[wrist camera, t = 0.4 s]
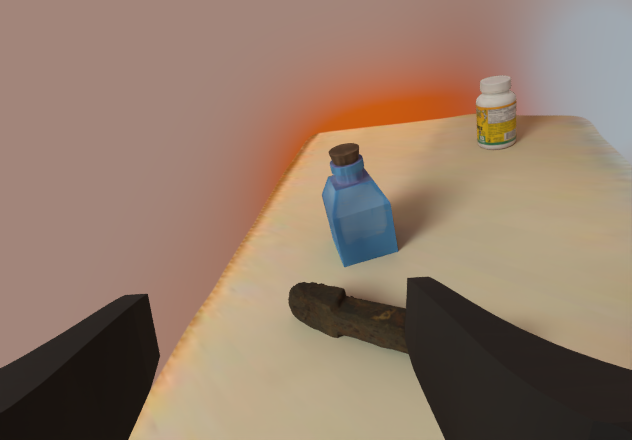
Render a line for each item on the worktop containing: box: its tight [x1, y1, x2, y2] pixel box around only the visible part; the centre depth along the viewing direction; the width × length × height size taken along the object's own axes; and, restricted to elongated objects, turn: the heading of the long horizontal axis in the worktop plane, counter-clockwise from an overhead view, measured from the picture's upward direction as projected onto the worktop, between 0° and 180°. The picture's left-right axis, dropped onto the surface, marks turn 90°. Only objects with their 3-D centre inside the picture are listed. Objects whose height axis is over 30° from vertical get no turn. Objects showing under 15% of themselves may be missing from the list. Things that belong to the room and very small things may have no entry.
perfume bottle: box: [322, 143, 398, 267], centre depth 45 cm, size 6×6×12 cm
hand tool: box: [288, 282, 409, 354], centre depth 35 cm, size 19×4×5 cm, turn 57°
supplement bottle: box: [476, 76, 516, 150], centre depth 61 cm, size 5×5×10 cm
